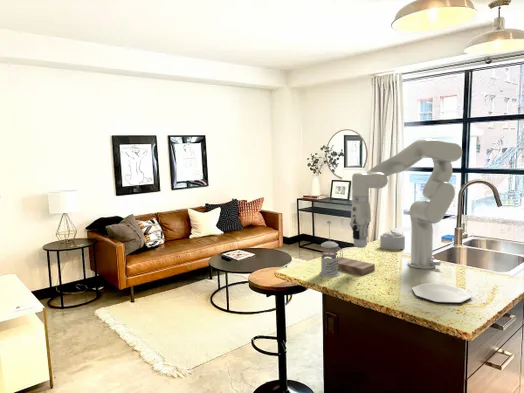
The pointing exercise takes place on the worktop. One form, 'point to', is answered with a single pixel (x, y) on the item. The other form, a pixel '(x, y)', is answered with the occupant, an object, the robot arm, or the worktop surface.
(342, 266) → the walnut board
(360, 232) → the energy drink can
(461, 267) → the worktop surface
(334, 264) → the french press
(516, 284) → the worktop surface
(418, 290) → the plate
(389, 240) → the lumpy-topped squat cylinder
